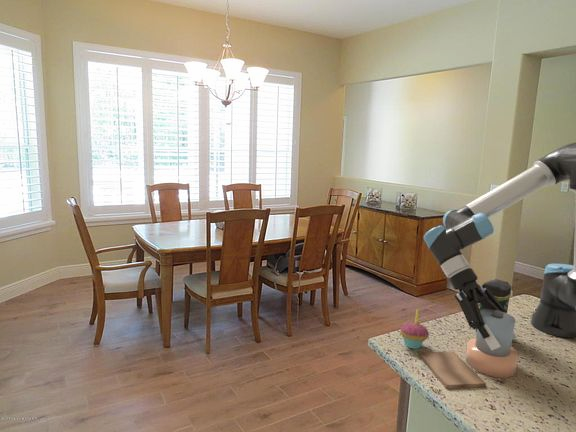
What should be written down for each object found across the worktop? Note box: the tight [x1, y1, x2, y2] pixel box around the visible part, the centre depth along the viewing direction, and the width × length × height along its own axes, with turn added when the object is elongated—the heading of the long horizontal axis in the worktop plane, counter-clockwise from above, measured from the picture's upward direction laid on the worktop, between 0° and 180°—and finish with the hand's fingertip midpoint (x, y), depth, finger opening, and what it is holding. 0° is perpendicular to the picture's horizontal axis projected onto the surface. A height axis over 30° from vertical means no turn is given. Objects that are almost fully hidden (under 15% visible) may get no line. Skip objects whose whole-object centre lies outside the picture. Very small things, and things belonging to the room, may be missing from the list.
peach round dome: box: [465, 337, 519, 379], centre depth 114 cm, size 13×13×5 cm
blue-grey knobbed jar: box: [475, 309, 516, 357], centre depth 113 cm, size 9×9×11 cm
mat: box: [418, 351, 487, 389], centre depth 111 cm, size 11×16×1 cm
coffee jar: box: [475, 278, 512, 333], centre depth 132 cm, size 10×8×19 cm
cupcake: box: [399, 307, 430, 350], centre depth 123 cm, size 9×8×12 cm
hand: (505, 343), depth 111 cm, fingers closed on blue-grey knobbed jar, 9 cm apart
